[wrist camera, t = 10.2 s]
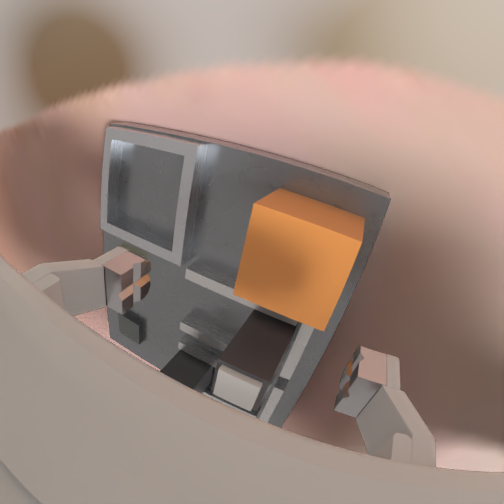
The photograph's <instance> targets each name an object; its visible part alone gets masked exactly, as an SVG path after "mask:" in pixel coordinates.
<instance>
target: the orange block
mask: <svg viewBox="0 0 504 504" xmlns="http://www.w3.org/2000/svg"><path fill="white" fill-rule="evenodd" d="M364 222H365V218H363V217H361V216H358V215H355V214H353V213H350V212H347V211H345V210H342V209H339V208H336V207H334V206H331V205H328V204H325V203H322V202H320V201H317V200H314V199H311V198H308V197H305V196H302V195H299V194H296V193H293V192H290V191H287V190H284V189H281V188H279V189H278V190H276V191H274V192H272V193H270V194H269V195H267V196H265V197H263V198H262V199H260V200H258V201H256V202H255V203H254V204H253V209H252V213H251V217H250V222H249V226H248V230H247V235H246V239H245V243H244V248H243V252H242V257H241V261H240V265H239V270H238V274H237V279H236V283H235V287H234V292H233V294H234V295H236V296H238V297H240V298H243V299H245V300H247V301H250V302H252V303H255V304H257V305H259V306H262V307H264V308H266V309H269V310H271V311H274V312H276V313H279V314H281V315H283V316H286V317H288V318H291V319H293V320H296V321H298V322H301V323H303V324H306V325H308V326H311V327H313V328H316V329H318V330H321V331H324V330H325V328H326V326H327V324H328V322H329V319H330V317H331V315H332V313H333V311H334V308H335V306H336V304H337V302H338V299H339V297H340V295H341V293H342V290H343V288H344V286H345V283H346V281H347V279H348V276H349V274H350V272H351V269H352V267H353V264H354V262H355V259H356V257H357V254H358V252H359V249H360V247H361V244H362V240H363V231H364Z"/></svg>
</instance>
